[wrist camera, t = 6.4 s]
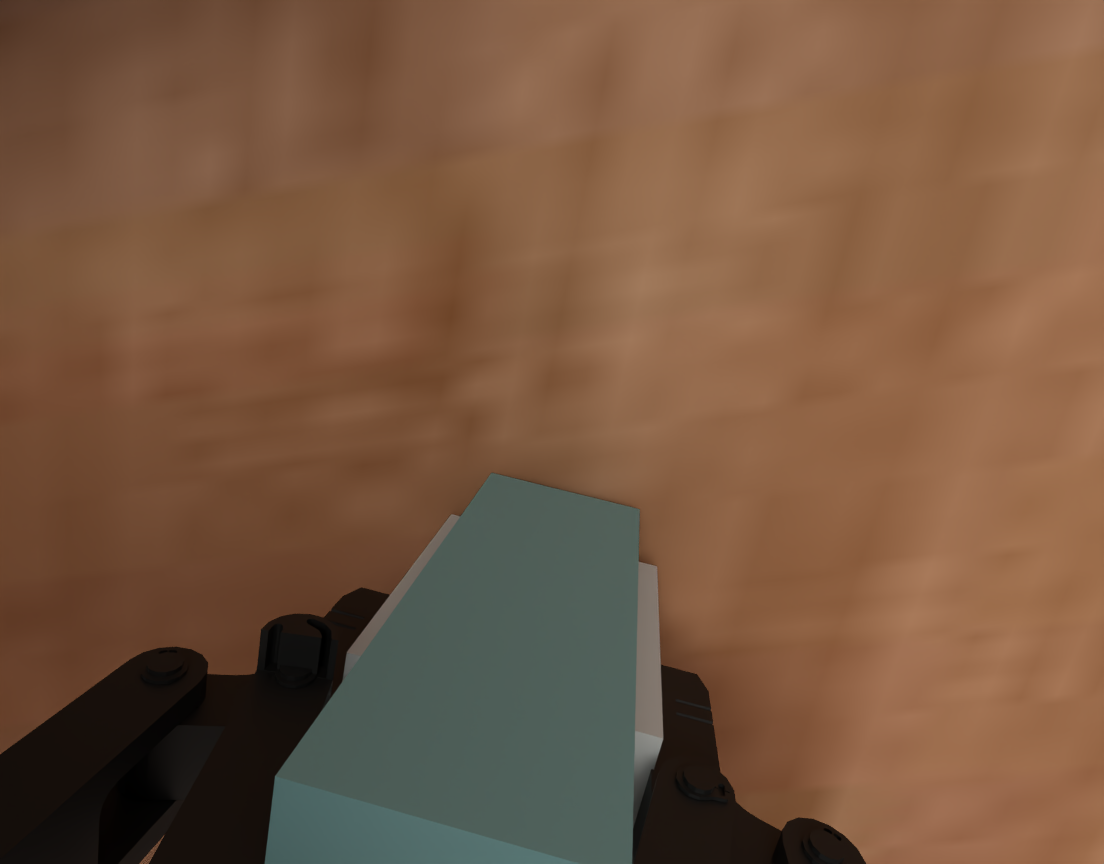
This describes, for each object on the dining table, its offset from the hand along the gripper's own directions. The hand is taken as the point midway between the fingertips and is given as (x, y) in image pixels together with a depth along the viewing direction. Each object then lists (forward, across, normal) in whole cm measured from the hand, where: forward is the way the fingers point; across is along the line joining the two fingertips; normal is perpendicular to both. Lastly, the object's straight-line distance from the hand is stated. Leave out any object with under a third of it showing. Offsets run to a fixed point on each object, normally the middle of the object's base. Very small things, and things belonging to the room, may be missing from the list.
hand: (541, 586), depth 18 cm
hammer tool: (+1, 0, -9) cm, 9 cm away
